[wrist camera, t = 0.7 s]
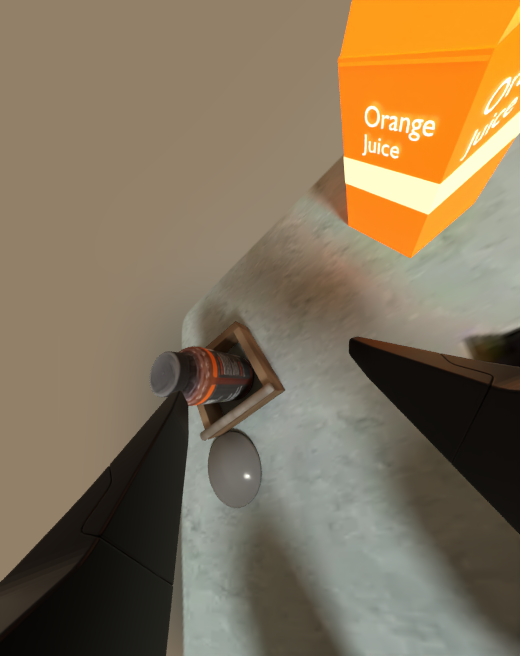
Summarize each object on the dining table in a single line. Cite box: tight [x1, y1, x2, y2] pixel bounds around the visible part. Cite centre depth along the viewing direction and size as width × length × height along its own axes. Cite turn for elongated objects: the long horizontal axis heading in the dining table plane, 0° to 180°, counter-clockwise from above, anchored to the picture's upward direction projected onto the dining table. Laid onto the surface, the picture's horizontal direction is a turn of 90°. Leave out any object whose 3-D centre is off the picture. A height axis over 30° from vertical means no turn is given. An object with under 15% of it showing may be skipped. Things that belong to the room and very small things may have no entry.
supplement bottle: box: [150, 347, 253, 406], centre depth 21 cm, size 6×6×11 cm
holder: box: [197, 321, 285, 441], centre depth 24 cm, size 10×10×4 cm
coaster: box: [208, 432, 262, 508], centre depth 22 cm, size 8×8×1 cm
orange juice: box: [338, 0, 520, 258], centre depth 13 cm, size 8×9×20 cm
